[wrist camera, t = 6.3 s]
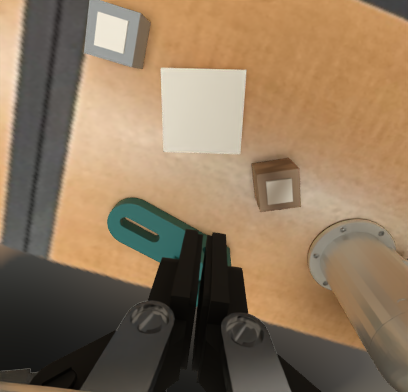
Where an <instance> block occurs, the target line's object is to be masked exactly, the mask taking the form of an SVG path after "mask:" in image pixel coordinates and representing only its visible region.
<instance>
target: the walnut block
mask: <svg viewBox="0 0 408 392" xmlns="http://www.w3.org/2000/svg"><path fill="white" fill-rule="evenodd" d="M252 174H253V183H254V192H255V199H256V201H257V204H258V207H259V209H260V212H266V211H273V210H281V209H288V208H295V207H301V198H300V174H299V168H298V167H297V166H296V165H295V164H294V163H293V162H292V161H291V160H290V159H289V158H285V159H278V160H272V161H265V162H259V163H252Z"/></svg>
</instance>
